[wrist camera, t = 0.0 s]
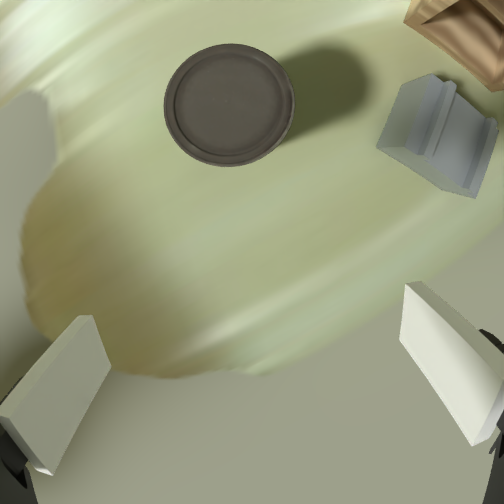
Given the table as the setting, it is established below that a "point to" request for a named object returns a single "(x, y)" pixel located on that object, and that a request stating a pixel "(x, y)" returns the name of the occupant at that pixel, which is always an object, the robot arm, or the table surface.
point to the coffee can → (229, 105)
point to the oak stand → (465, 34)
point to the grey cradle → (439, 135)
